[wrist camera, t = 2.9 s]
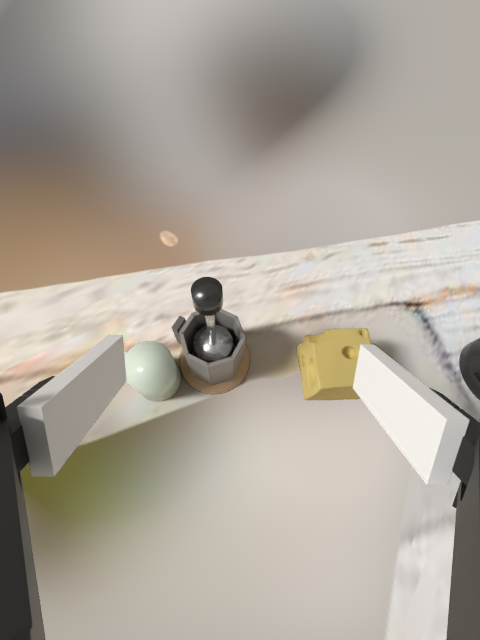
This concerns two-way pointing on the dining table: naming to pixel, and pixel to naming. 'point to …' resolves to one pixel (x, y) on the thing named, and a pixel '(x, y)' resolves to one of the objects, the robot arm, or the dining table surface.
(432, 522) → the dining table surface
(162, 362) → the pale green dome knob
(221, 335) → the plunger
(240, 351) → the grey octagonal cup
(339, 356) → the cheese
